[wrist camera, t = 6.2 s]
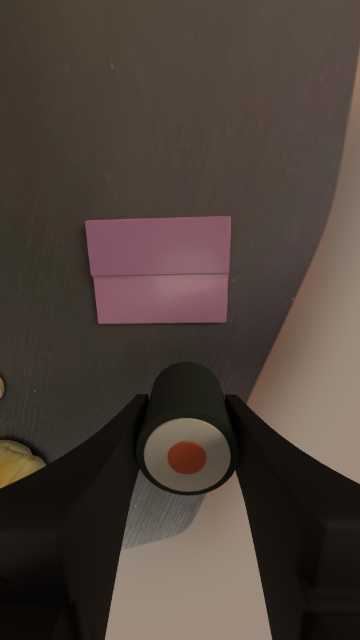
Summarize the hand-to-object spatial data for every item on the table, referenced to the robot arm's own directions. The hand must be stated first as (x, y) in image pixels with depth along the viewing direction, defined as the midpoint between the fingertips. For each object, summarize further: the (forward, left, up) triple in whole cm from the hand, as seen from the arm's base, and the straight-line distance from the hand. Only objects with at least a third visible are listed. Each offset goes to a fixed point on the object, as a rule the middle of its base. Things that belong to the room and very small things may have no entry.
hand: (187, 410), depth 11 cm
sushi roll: (0, 0, -2) cm, 2 cm away
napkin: (+2, -8, -8) cm, 12 cm away
